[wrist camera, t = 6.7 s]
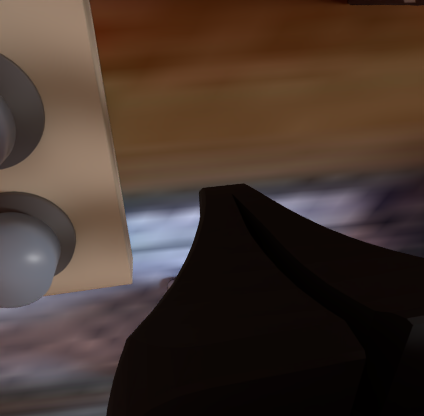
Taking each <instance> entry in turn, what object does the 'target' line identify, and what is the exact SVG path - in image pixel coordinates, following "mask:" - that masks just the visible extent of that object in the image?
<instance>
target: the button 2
mask: <svg viewBox="0 0 424 416" xmlns="http://www.w3.org/2000/svg"><path fill="white" fill-rule="evenodd" d="M60 254H61V246H60V242H59V239H58V237H57V235H56V234H55V232H54V231H53V230H52V229H51V228H50V227H49V226H48V225H47V224H46V223H44V222H43V221H41V220H40V219H38V218H36V217H33V216H30V215H27V214H23V213H17V212H4V213H0V308H15V307H21V306H25V305H29V304H31V303H33V302H35V301H37V300H39V299H40V298H41V297H43V296H44V295H45V294H46V292H47V291H48V290H49V288H50V286H51V283H52V280H53V277H54V274H55V271H56V267H57V264H58V261H59V258H60Z"/></svg>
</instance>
